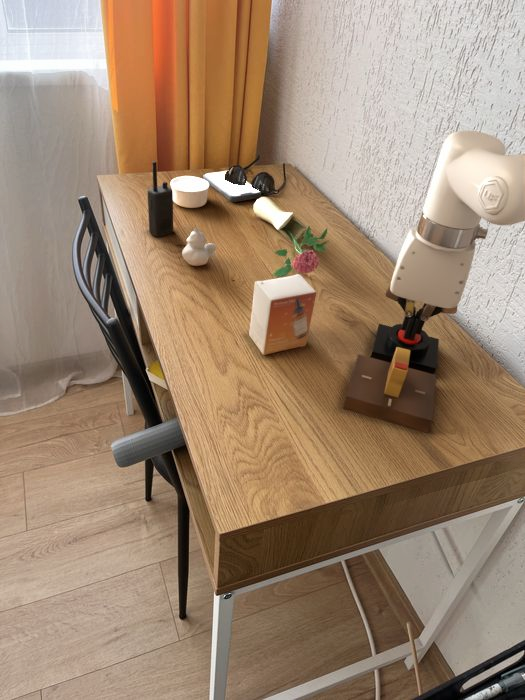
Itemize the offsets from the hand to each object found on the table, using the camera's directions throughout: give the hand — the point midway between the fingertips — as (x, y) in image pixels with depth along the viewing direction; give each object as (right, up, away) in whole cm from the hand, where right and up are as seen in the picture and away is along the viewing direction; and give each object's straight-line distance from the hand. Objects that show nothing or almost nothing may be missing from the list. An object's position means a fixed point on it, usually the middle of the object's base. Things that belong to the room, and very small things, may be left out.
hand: (409, 334), depth 83 cm
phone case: (-31, +38, +48) cm, 69 cm away
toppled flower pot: (-19, +17, +25) cm, 36 cm away
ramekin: (-40, +32, +40) cm, 65 cm away
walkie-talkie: (-45, +22, +27) cm, 57 cm away
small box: (-21, -1, +2) cm, 21 cm away
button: (0, -1, +1) cm, 2 cm away
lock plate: (-5, -9, -6) cm, 12 cm away
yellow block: (-4, -8, -7) cm, 11 cm away
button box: (0, -3, +3) cm, 4 cm away
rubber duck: (-36, +14, +19) cm, 43 cm away
